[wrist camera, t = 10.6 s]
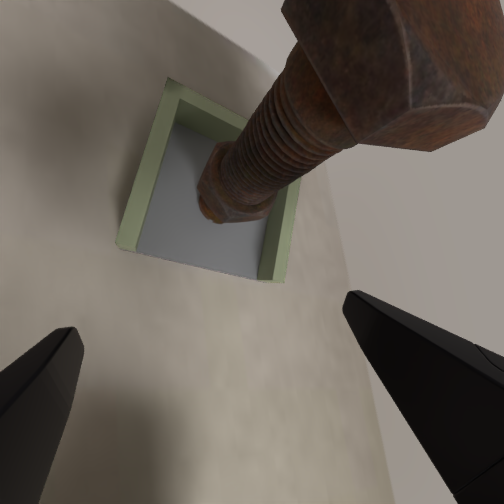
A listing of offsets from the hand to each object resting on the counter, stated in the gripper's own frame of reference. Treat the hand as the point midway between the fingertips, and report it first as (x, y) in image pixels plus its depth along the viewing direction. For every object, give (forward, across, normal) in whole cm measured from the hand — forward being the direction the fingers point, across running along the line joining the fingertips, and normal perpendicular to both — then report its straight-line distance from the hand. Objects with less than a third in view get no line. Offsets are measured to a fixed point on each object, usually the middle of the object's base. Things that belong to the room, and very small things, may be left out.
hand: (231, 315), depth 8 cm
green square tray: (+12, -1, 0) cm, 12 cm away
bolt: (+12, -1, 0) cm, 12 cm away
